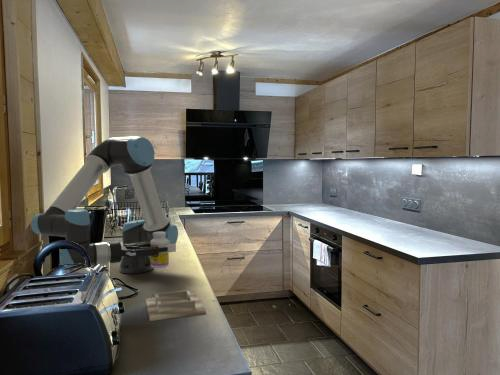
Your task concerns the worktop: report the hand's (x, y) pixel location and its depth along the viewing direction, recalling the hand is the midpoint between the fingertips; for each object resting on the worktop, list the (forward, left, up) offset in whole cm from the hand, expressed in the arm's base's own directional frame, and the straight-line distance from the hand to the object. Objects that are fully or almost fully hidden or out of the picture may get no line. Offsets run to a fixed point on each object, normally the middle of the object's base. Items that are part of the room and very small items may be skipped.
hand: (172, 245), depth 144 cm
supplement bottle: (+1, -5, -7) cm, 9 cm away
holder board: (+14, -2, -18) cm, 23 cm away
